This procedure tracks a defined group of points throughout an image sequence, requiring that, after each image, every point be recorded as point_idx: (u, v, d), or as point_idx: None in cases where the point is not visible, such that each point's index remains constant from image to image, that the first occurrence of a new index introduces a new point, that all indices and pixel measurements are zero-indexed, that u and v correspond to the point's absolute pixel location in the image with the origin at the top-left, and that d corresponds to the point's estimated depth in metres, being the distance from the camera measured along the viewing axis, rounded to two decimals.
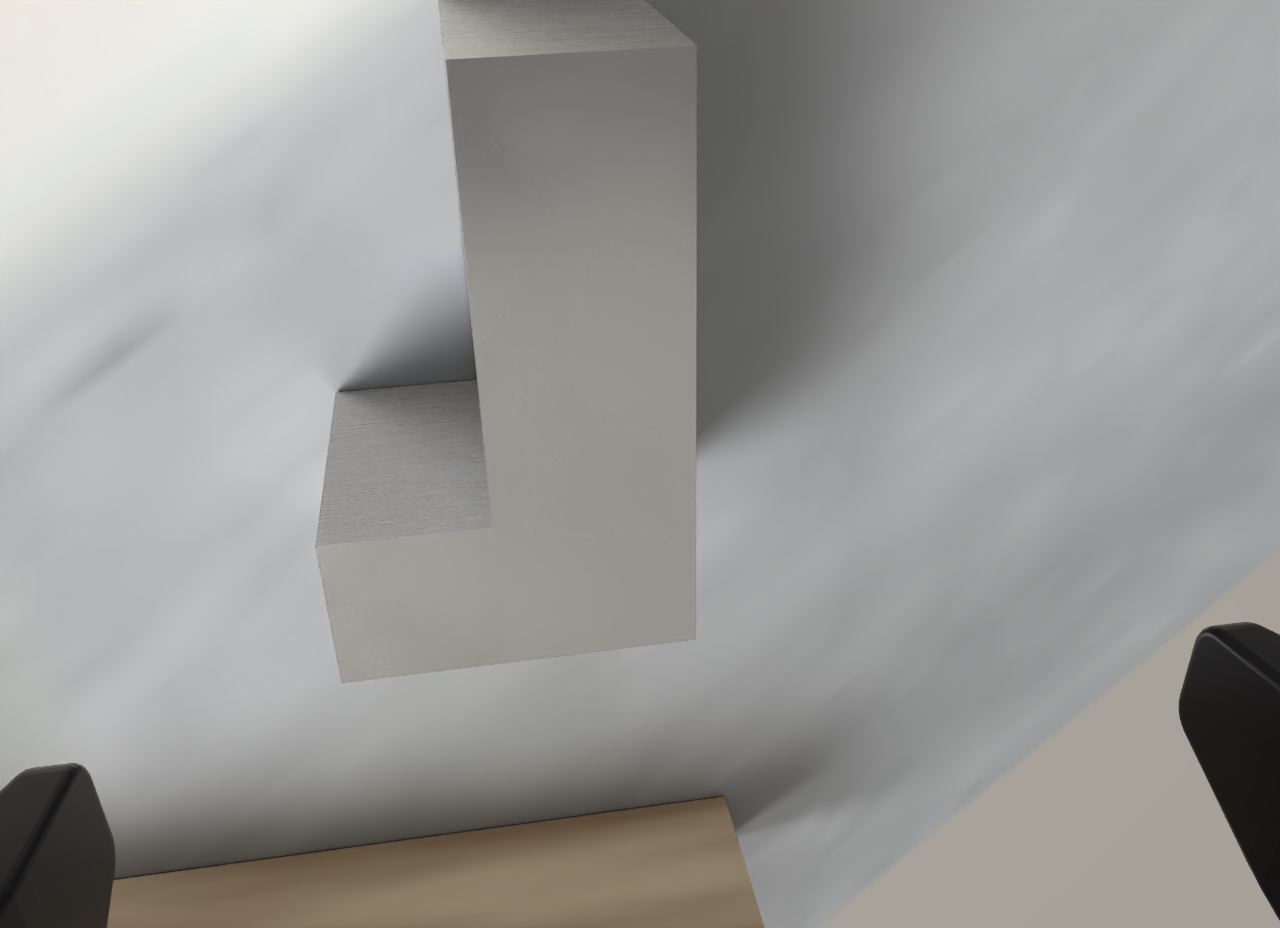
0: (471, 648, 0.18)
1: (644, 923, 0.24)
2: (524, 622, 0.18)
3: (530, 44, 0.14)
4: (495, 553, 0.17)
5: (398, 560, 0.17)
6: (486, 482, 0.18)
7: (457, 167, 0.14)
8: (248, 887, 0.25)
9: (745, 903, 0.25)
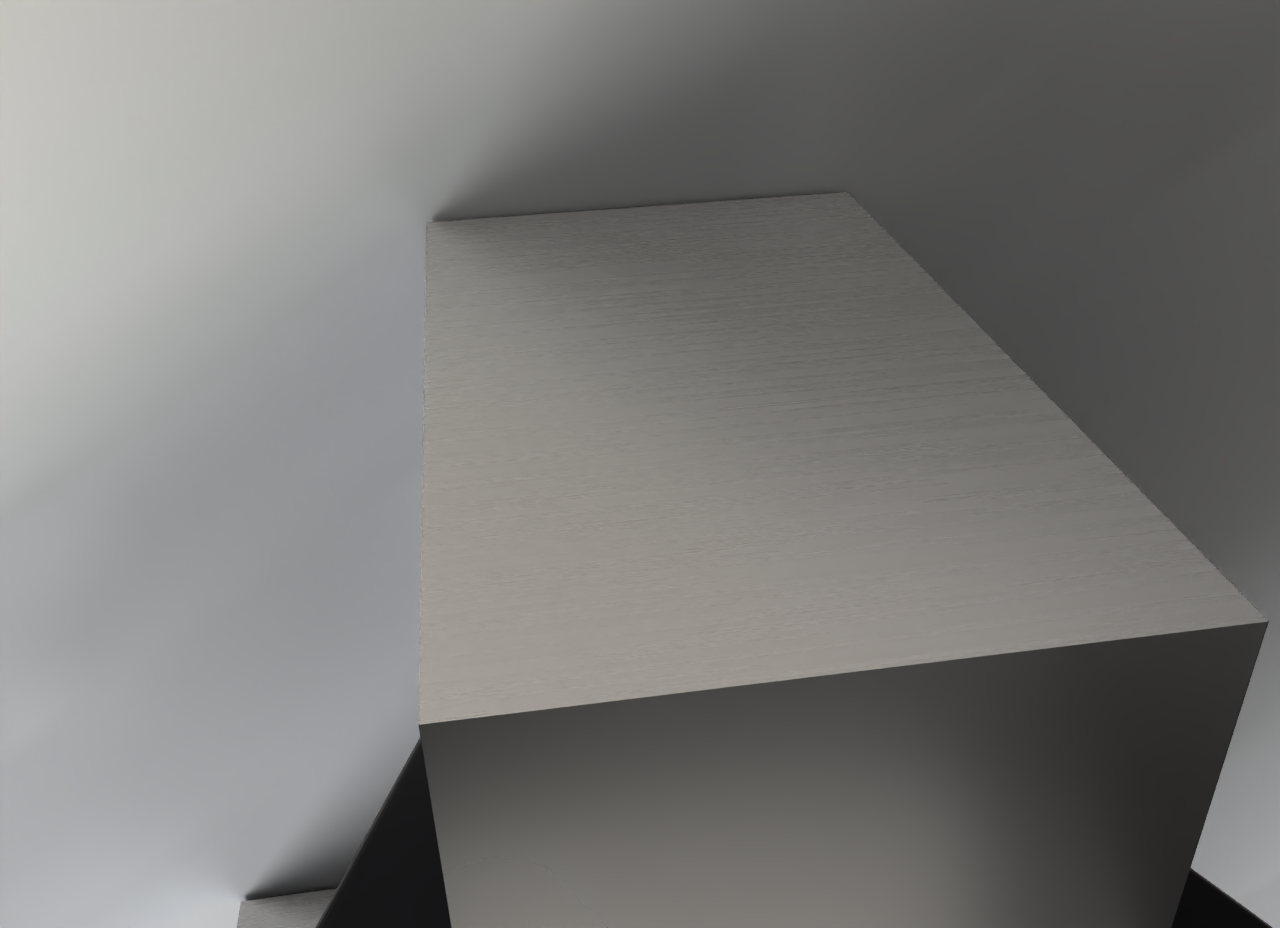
0: None
1: None
2: None
3: (695, 570, 0.05)
4: None
5: None
6: None
7: None
8: None
9: None
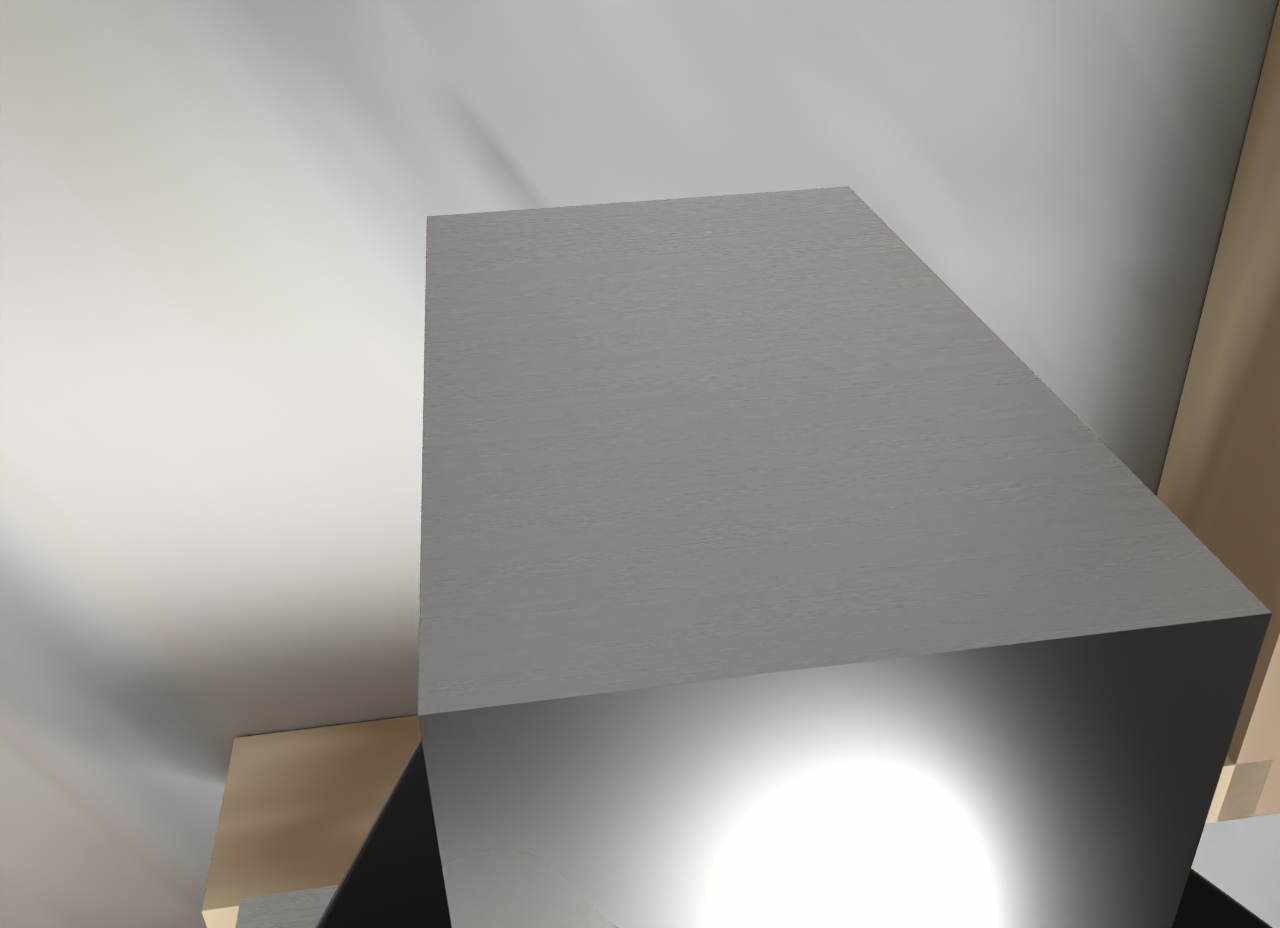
0: None
1: None
2: None
3: (697, 561, 0.05)
4: None
5: None
6: None
7: None
8: (1279, 123, 0.19)
9: None
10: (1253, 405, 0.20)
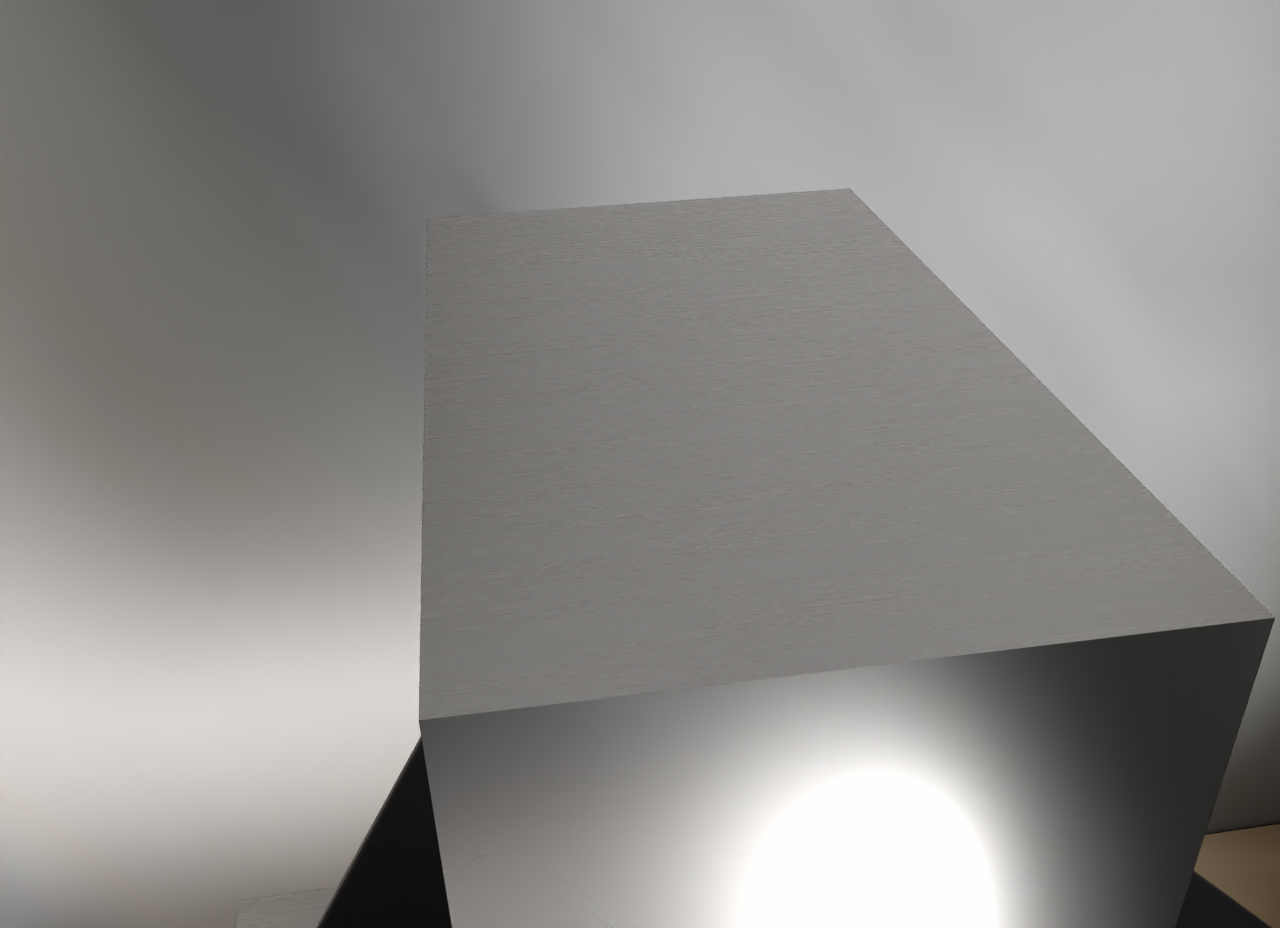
0: None
1: None
2: None
3: (698, 566, 0.04)
4: None
5: None
6: None
7: None
8: None
9: None
10: None
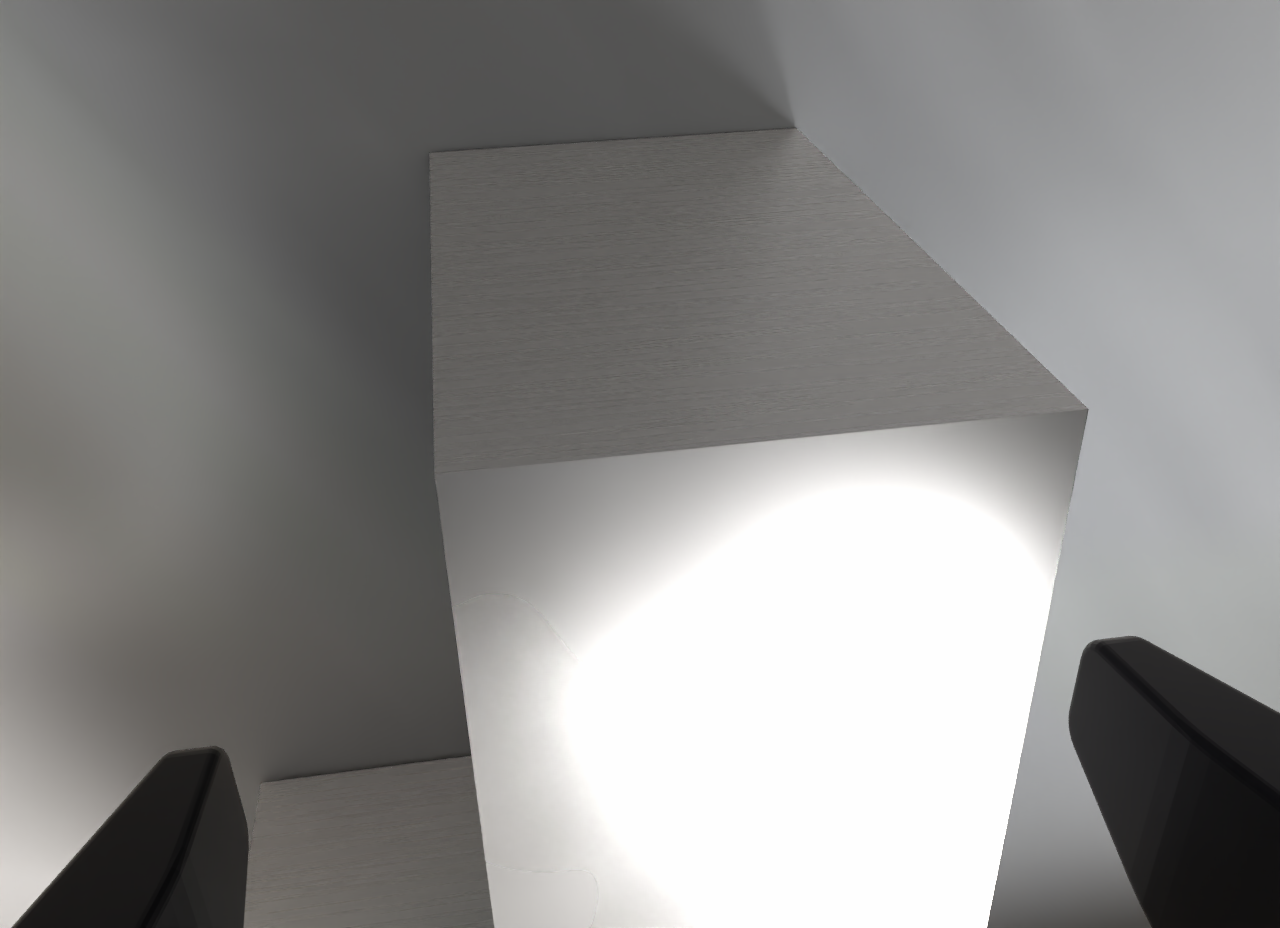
0: None
1: None
2: None
3: (649, 383, 0.06)
4: None
5: None
6: None
7: (466, 698, 0.06)
8: None
9: None
10: None
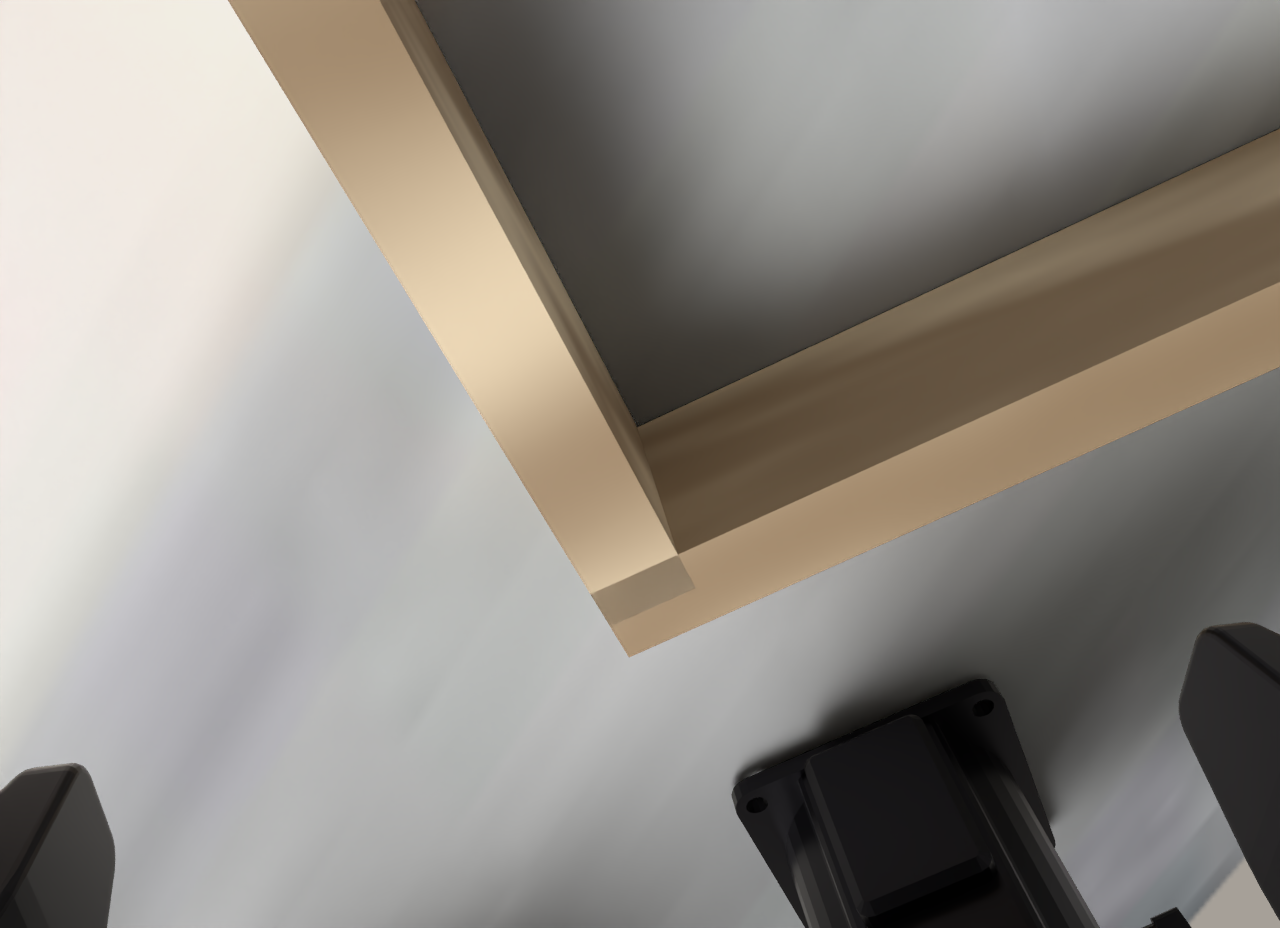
0: None
1: None
2: None
3: None
4: None
5: None
6: None
7: None
8: (1215, 182, 0.20)
9: None
10: (1001, 323, 0.19)
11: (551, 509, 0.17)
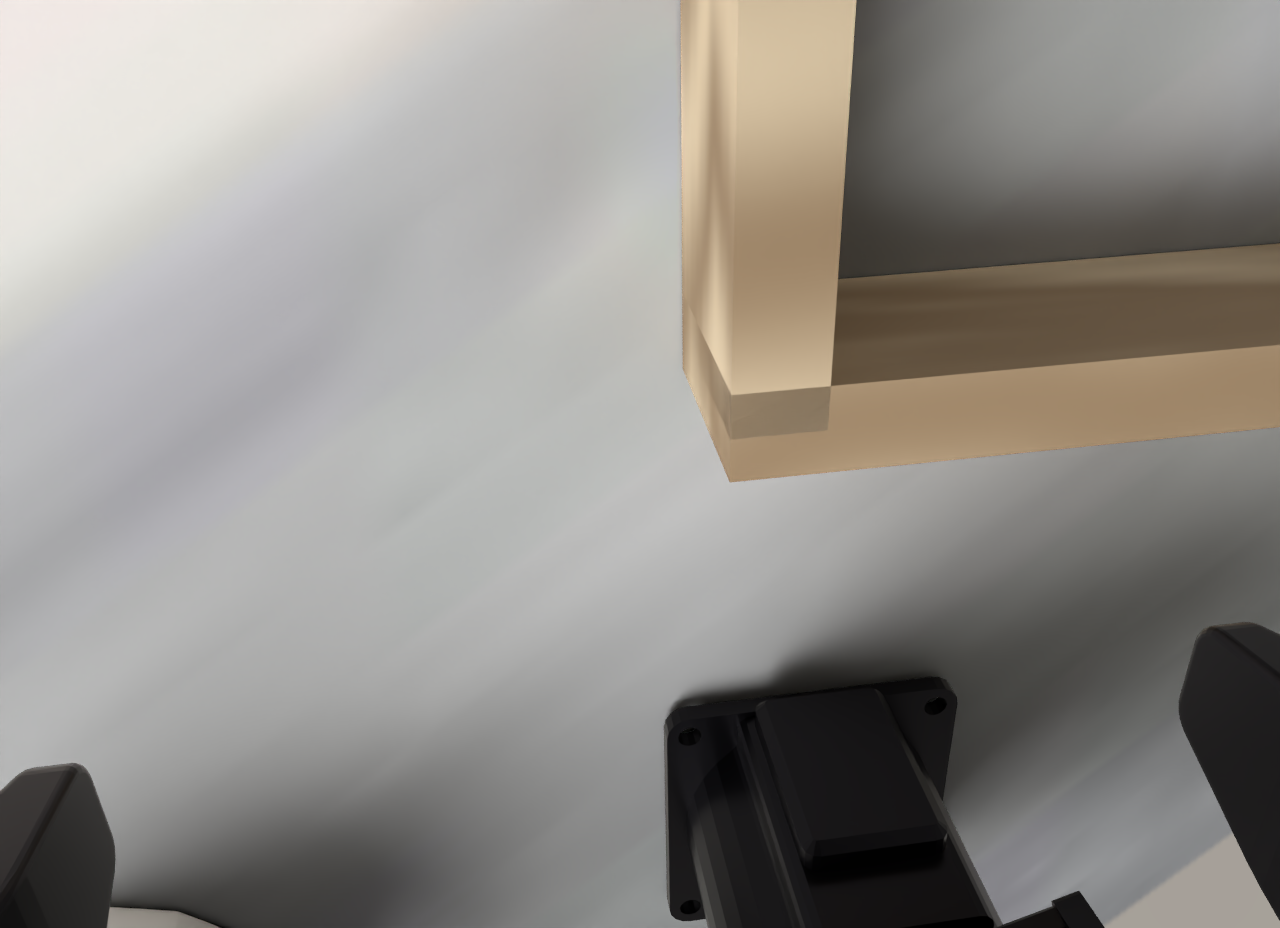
0: None
1: None
2: None
3: None
4: None
5: None
6: None
7: None
8: None
9: None
10: (1157, 297, 0.20)
11: (744, 283, 0.16)
